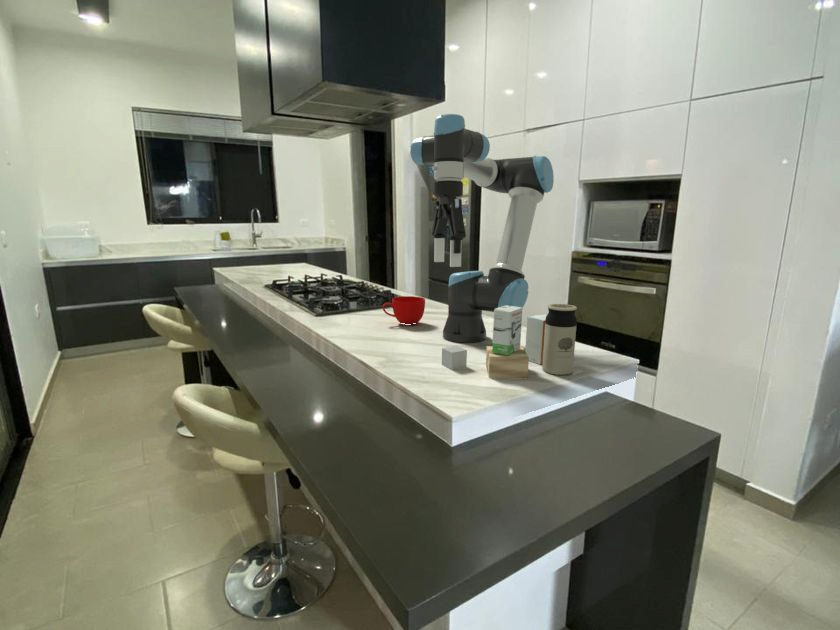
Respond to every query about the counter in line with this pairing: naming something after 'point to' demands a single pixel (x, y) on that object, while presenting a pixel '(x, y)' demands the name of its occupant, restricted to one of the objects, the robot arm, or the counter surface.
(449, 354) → the grey cube
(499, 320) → the ink box
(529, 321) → the small box
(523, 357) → the oak block
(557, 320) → the travel mug
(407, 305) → the ceramic cup
